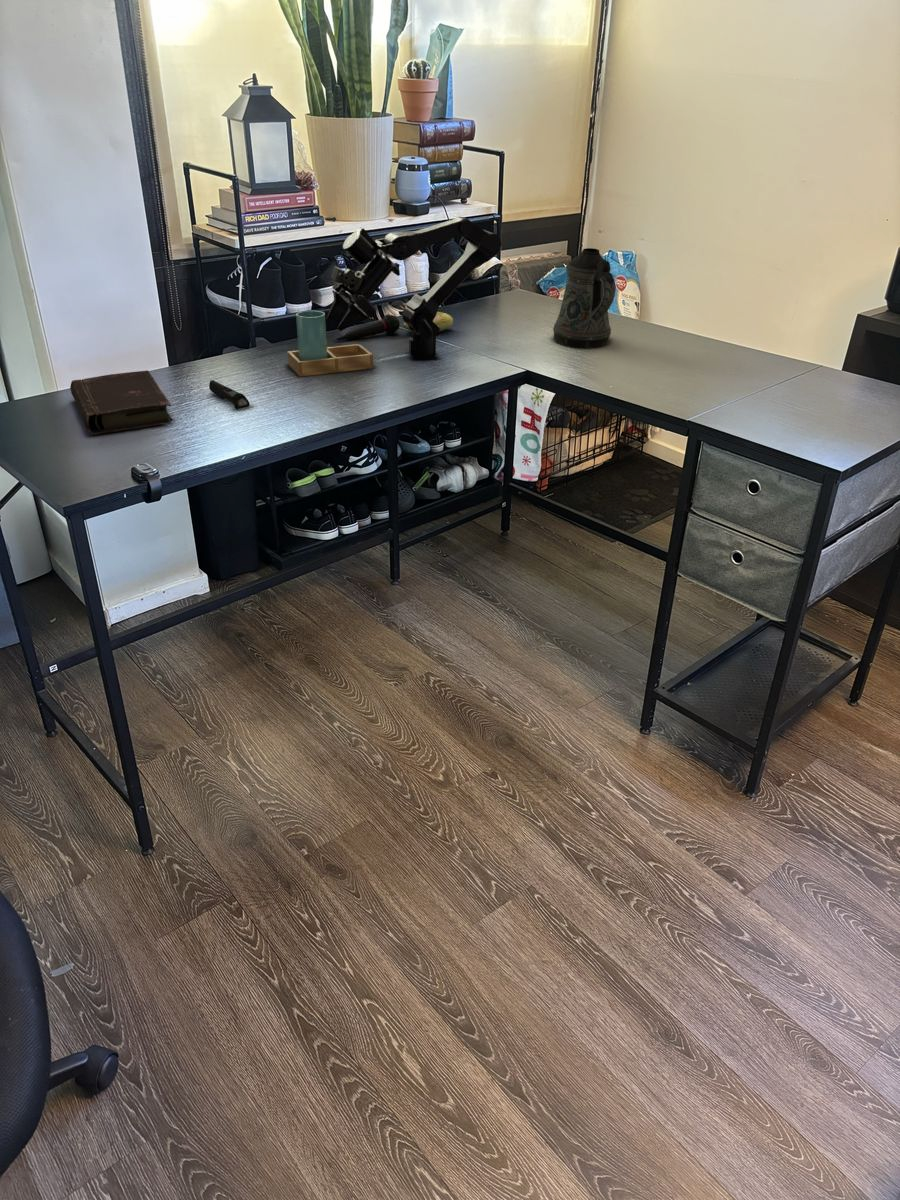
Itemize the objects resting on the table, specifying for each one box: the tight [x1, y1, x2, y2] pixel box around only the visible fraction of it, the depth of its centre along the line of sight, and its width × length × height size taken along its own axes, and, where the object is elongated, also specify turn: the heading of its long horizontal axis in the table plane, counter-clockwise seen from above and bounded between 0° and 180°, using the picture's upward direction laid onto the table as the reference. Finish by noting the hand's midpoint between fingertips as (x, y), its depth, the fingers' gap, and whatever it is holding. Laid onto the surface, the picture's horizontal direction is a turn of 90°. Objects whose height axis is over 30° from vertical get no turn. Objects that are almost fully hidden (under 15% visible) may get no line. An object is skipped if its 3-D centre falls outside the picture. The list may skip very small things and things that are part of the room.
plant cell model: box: [403, 311, 454, 332], centre depth 260 cm, size 11×8×15 cm
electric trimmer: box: [208, 379, 251, 410], centre depth 207 cm, size 4×16×3 cm, turn 39°
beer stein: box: [552, 247, 617, 349], centre depth 249 cm, size 16×19×25 cm
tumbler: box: [295, 309, 328, 361], centre depth 226 cm, size 7×7×13 cm
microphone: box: [336, 313, 401, 341], centre depth 255 cm, size 6×6×20 cm
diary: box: [69, 369, 174, 436], centre depth 198 cm, size 19×25×5 cm
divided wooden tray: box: [287, 343, 374, 377], centre depth 230 cm, size 20×10×4 cm, turn 114°
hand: (332, 325), depth 226 cm, fingers open, 9 cm apart
